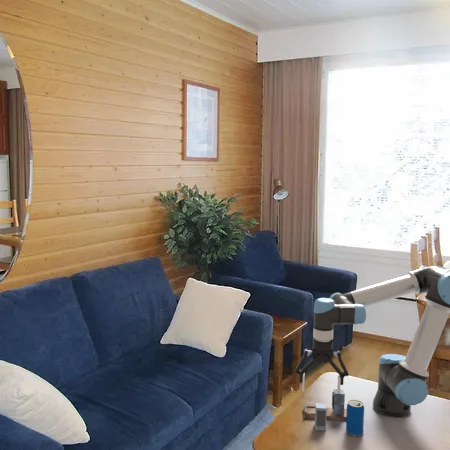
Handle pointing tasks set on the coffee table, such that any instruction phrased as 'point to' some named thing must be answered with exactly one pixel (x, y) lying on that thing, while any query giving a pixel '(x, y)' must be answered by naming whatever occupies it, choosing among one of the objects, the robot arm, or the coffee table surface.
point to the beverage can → (355, 417)
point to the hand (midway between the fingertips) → (320, 391)
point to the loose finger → (320, 416)
